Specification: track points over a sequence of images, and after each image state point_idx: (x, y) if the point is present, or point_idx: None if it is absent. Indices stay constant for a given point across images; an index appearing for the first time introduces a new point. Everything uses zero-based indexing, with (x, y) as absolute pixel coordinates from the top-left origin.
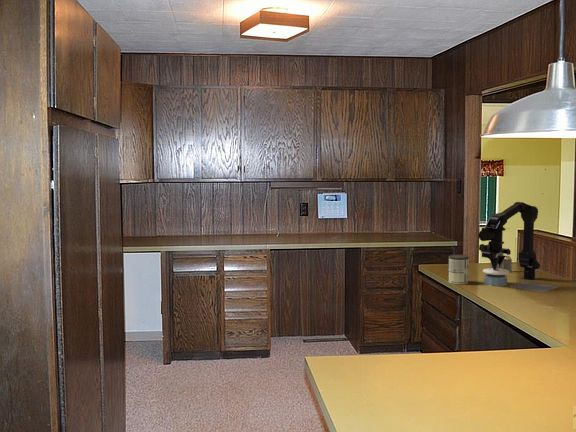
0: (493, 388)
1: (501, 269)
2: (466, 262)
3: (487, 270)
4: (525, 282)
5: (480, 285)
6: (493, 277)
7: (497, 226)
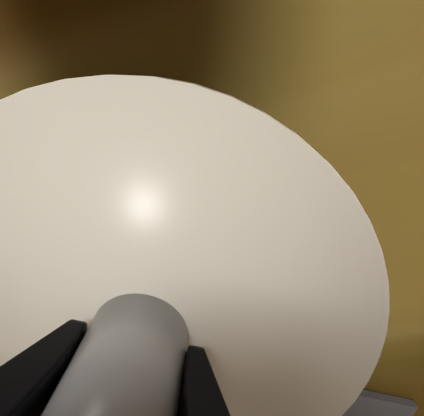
0: None
1: (301, 379)
2: None
3: (37, 203)
4: (380, 411)
5: (39, 83)
6: None
7: None
